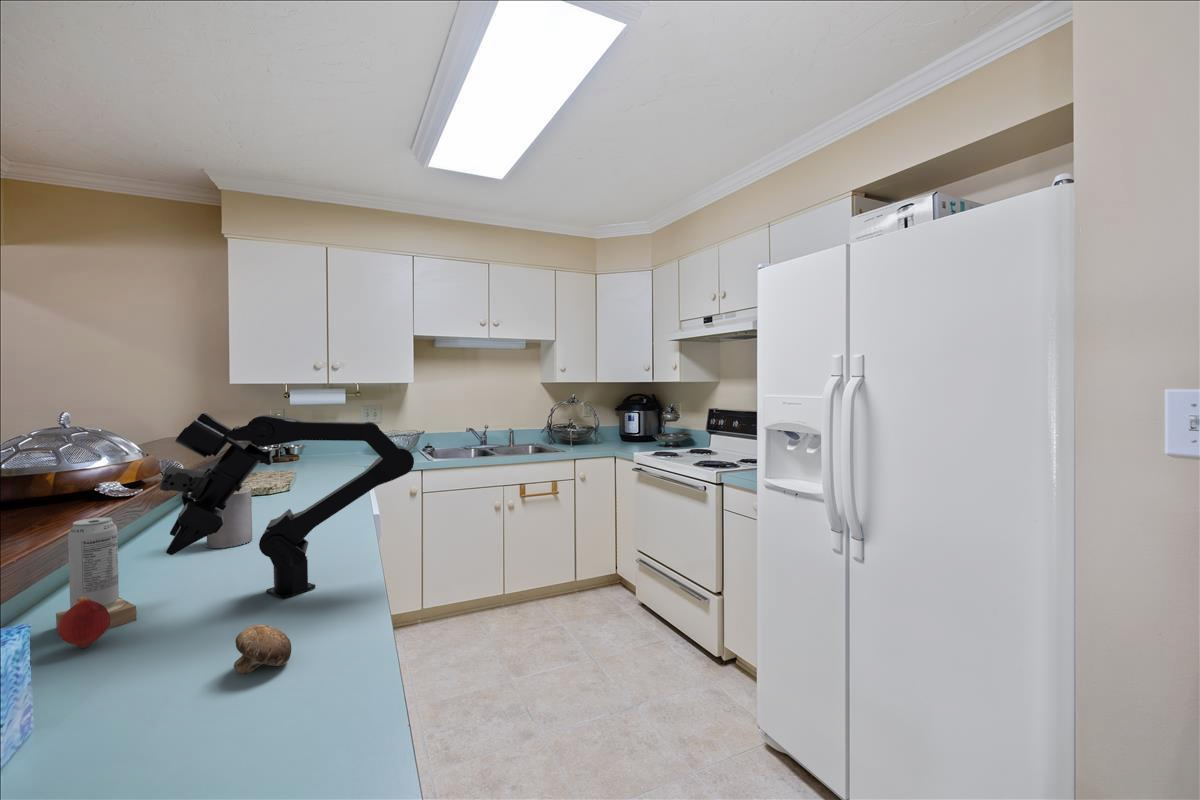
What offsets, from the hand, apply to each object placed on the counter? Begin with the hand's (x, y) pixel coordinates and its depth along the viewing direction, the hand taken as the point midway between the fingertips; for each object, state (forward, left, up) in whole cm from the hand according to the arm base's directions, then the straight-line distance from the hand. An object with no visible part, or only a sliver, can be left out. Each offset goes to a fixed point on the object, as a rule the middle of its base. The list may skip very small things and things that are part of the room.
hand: (170, 544), depth 96 cm
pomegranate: (-6, +13, -12) cm, 19 cm away
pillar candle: (+34, -26, -12) cm, 44 cm away
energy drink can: (+3, +10, -9) cm, 14 cm away
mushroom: (-36, +2, -12) cm, 38 cm away
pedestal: (+3, +9, -12) cm, 15 cm away
